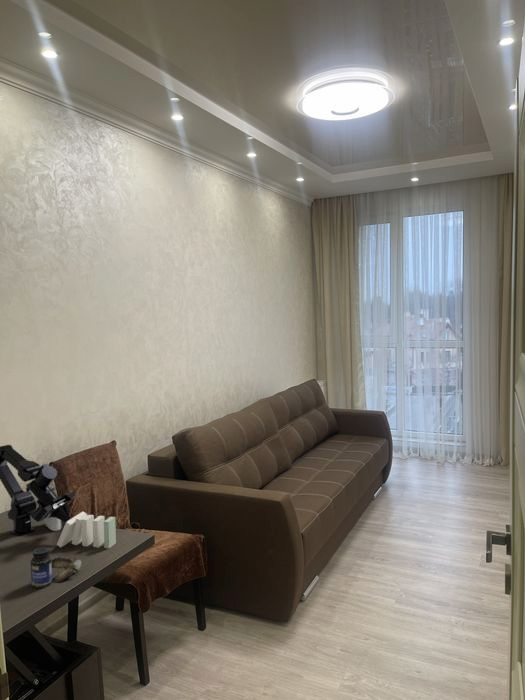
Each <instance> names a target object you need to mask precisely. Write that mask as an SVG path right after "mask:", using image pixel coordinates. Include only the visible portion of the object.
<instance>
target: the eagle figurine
mask: <svg viewBox="0 0 525 700" xmlns="http://www.w3.org/2000/svg"><path fill="white" fill-rule="evenodd" d="M73 561H74V562H73ZM51 564H52V569H64V570H63V571H62V572H60V573H58V574H57V575H56V576H54V577H52V582H51V583H60V582H62V581H64V580H65V579H66V578H68V577H70V576H72V575H73V574H74V571H75V572H76V573H79V569H80V568H81V567H82V561H81V560H80V559H78V558H76V555H73V559H71V558H63V557H55V558H53V559H51Z"/></svg>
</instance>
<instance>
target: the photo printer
mask: <svg viewBox="0 0 525 700" xmlns="http://www.w3.org/2000/svg"><path fill="white" fill-rule="evenodd" d="M49 516H50V515H48V517H49ZM48 517H47V518H44V522H45V523H44V525H45V526H46V527H47V528H48V529H49V530H50V531H52V532H57V531H60V530H61V529H62V520H60V519H58V518H56V517H50V518H48Z"/></svg>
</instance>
